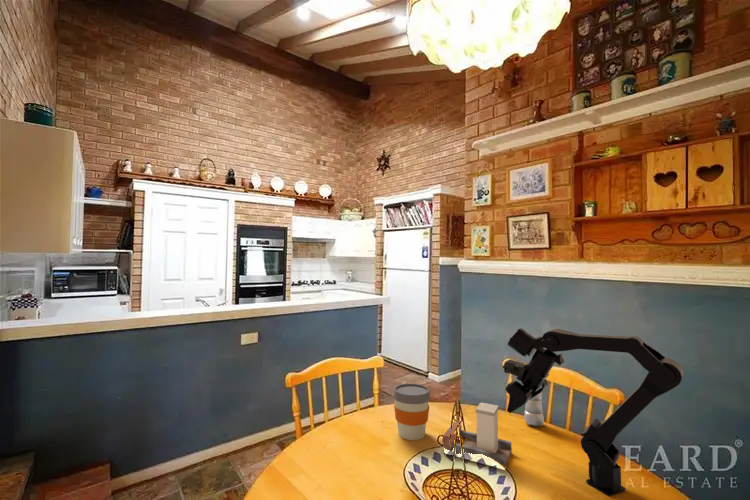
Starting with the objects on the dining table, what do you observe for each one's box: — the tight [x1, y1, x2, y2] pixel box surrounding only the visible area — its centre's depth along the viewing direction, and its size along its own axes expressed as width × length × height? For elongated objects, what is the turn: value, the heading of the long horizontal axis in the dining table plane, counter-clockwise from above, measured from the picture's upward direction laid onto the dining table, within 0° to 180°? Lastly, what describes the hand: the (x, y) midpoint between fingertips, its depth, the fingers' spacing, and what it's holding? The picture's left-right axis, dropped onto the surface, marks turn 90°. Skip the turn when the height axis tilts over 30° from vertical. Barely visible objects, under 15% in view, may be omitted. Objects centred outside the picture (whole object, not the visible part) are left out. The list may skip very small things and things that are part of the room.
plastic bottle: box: [523, 387, 545, 427], centre depth 130 cm, size 6×7×20 cm
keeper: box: [475, 402, 500, 453], centre depth 108 cm, size 5×6×13 cm
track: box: [442, 421, 513, 468], centre depth 110 cm, size 18×11×6 cm, turn 60°
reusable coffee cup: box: [393, 383, 431, 441], centre depth 123 cm, size 13×13×15 cm
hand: (514, 407), depth 110 cm, fingers open, 9 cm apart
